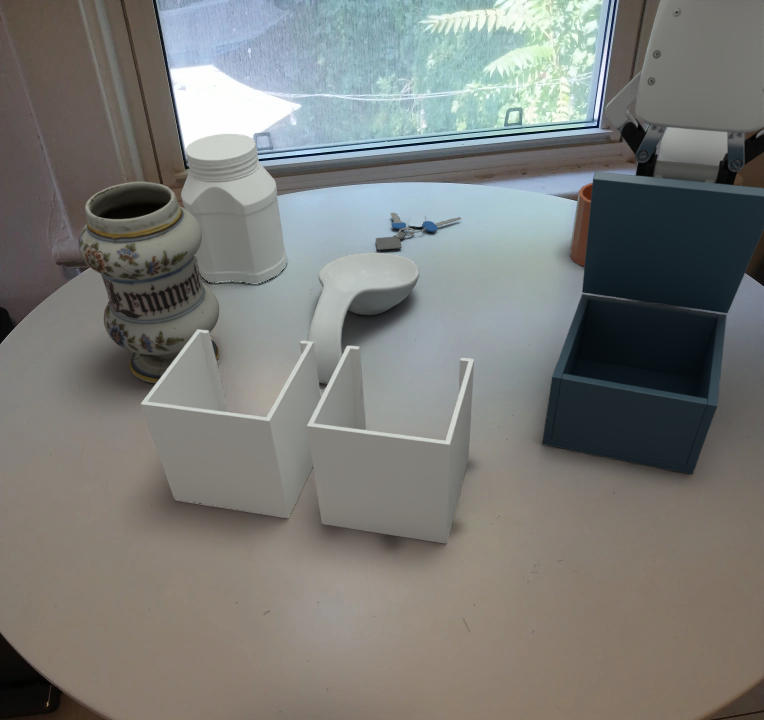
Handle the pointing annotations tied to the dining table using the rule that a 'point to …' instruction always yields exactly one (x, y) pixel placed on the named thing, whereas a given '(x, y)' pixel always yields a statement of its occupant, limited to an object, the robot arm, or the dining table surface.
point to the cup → (581, 225)
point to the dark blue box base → (636, 382)
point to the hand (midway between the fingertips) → (676, 206)
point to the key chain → (398, 224)
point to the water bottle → (693, 147)
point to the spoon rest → (355, 298)
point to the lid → (671, 236)
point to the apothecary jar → (148, 273)
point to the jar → (233, 210)
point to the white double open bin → (306, 448)
